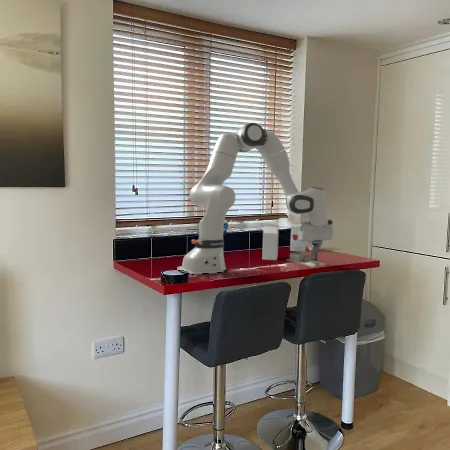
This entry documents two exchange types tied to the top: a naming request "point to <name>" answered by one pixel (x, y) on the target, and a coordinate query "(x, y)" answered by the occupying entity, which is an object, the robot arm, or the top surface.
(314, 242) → the pin
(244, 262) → the top surface
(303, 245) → the supplement box
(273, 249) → the milk carton
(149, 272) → the top surface
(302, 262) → the eye block
